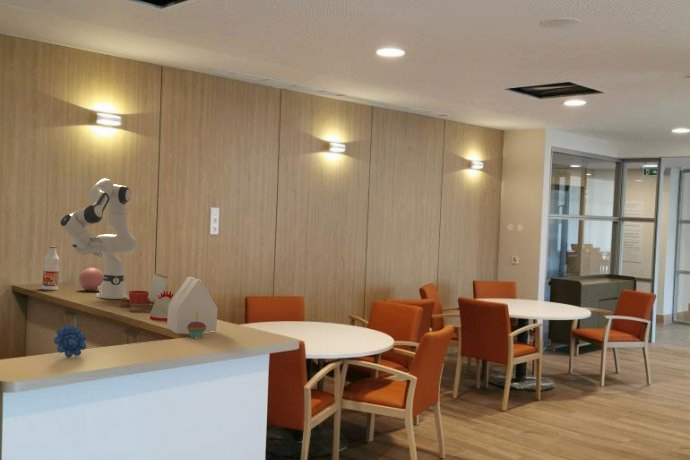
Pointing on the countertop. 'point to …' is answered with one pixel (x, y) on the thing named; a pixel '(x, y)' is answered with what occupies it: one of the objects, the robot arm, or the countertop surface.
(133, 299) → the flower pot
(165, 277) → the frame lid
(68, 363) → the countertop surface
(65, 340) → the blue flower
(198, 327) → the cupcake
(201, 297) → the white house-shaped block
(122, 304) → the cold frame
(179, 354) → the countertop surface
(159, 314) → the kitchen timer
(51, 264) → the fruit juice
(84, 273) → the pink egg shape
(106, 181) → the robot arm
